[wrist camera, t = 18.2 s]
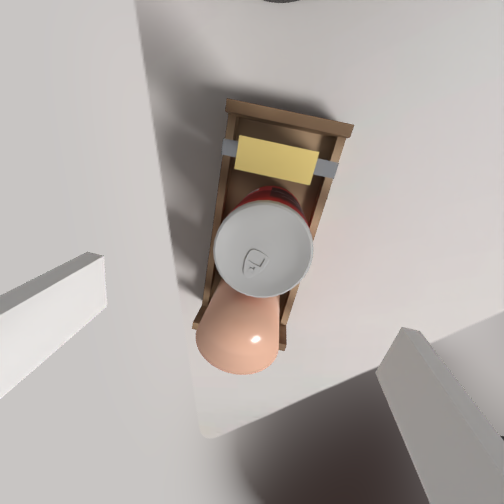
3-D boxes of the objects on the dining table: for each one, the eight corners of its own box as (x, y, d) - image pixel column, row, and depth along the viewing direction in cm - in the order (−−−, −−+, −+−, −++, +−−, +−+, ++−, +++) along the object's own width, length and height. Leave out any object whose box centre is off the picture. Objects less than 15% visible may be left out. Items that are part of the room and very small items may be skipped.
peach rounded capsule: (227, 251, 30) (200, 299, 20) (286, 264, 30) (288, 319, 20) (219, 300, 33) (192, 363, 23) (272, 312, 33) (268, 382, 23)
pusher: (238, 142, 25) (158, 117, 9) (324, 161, 25) (403, 170, 9) (236, 154, 26) (157, 152, 9) (320, 173, 25) (389, 203, 9)
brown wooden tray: (234, 106, 25) (221, 92, 19) (344, 129, 24) (361, 121, 19) (205, 302, 34) (192, 328, 29) (283, 321, 34) (284, 351, 29)
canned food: (232, 242, 30) (206, 287, 20) (243, 177, 27) (220, 190, 16) (292, 256, 29) (297, 309, 19) (310, 192, 26) (328, 214, 16)
